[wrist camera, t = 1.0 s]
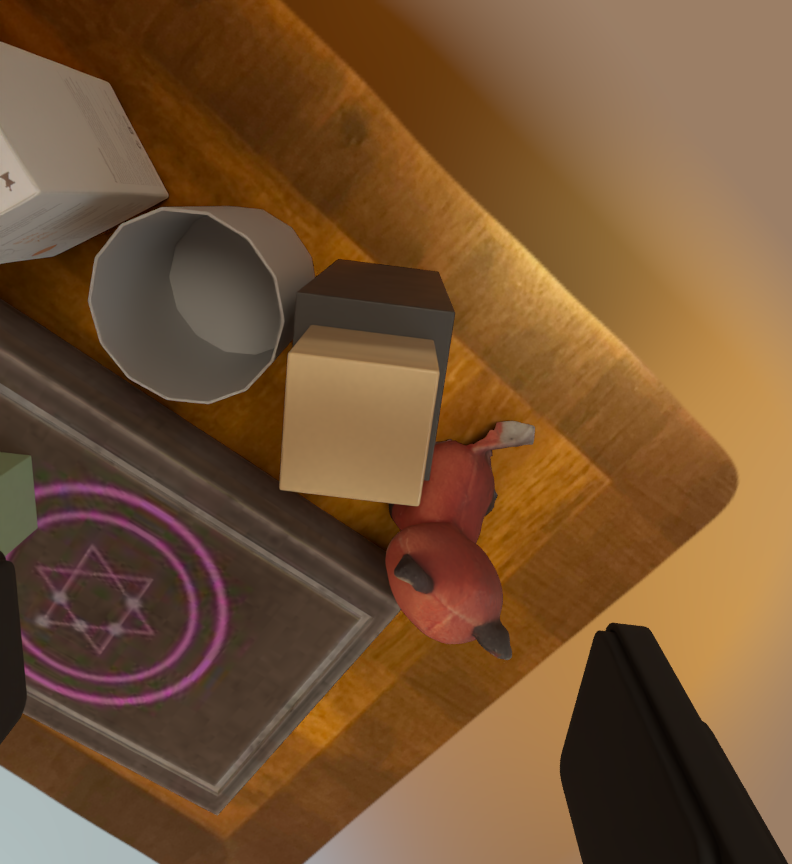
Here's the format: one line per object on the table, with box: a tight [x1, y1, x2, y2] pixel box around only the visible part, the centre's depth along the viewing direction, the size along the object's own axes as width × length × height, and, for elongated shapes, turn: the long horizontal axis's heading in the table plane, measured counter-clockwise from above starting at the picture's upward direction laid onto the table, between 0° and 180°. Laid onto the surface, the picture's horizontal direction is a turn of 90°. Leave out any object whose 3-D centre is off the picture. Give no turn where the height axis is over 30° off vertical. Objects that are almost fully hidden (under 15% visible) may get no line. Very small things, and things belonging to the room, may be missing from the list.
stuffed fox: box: [385, 421, 535, 660], centre depth 35 cm, size 8×11×12 cm
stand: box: [293, 259, 455, 481], centre depth 30 cm, size 7×6×14 cm
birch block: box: [279, 325, 440, 506], centre depth 22 cm, size 5×5×5 cm
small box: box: [0, 41, 169, 264], centre depth 28 cm, size 8×6×13 cm
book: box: [0, 299, 401, 815], centre depth 40 cm, size 30×22×5 cm
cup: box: [88, 206, 315, 404], centre depth 32 cm, size 8×8×10 cm
